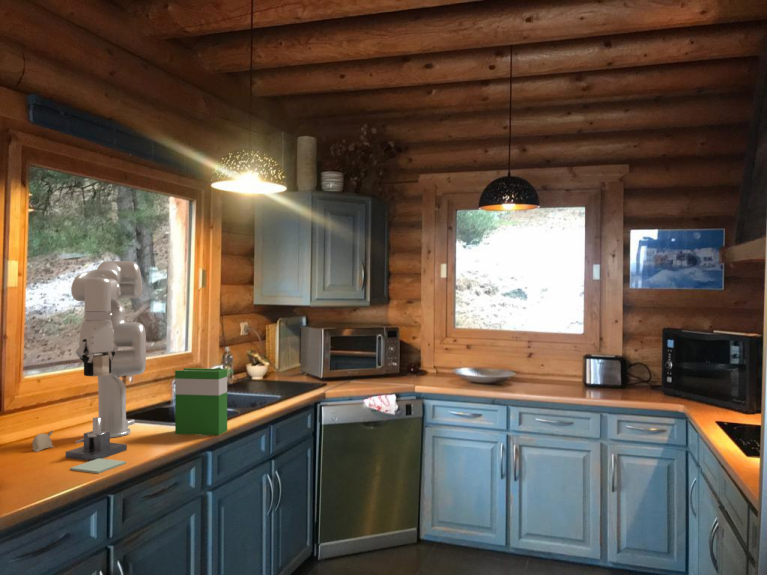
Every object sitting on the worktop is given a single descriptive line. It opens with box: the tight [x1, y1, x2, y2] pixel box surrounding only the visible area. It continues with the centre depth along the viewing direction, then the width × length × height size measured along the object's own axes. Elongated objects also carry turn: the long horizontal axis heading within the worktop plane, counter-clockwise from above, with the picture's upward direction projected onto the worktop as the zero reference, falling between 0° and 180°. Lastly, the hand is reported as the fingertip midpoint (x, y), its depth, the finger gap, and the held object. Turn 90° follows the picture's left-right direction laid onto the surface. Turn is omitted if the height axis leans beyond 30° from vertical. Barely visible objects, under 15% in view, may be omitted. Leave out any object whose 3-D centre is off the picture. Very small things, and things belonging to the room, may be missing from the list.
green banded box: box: [174, 367, 228, 436], centre depth 229 cm, size 18×7×24 cm, turn 81°
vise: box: [65, 416, 128, 462], centre depth 199 cm, size 14×13×12 cm
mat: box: [69, 458, 127, 474], centre depth 184 cm, size 11×11×1 cm
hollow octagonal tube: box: [88, 354, 109, 377], centre depth 187 cm, size 6×6×6 cm
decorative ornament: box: [31, 430, 55, 453], centre depth 206 cm, size 4×8×5 cm, turn 158°
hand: (97, 373), depth 187 cm, fingers closed on hollow octagonal tube, 6 cm apart
